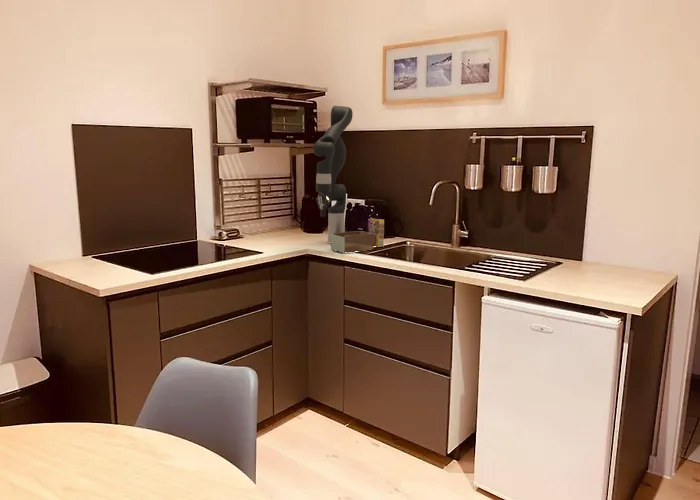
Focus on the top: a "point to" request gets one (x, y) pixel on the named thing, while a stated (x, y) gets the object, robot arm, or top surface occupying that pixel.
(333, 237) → the grey boxy piece
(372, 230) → the candy box
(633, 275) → the top surface
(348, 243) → the sleeve
